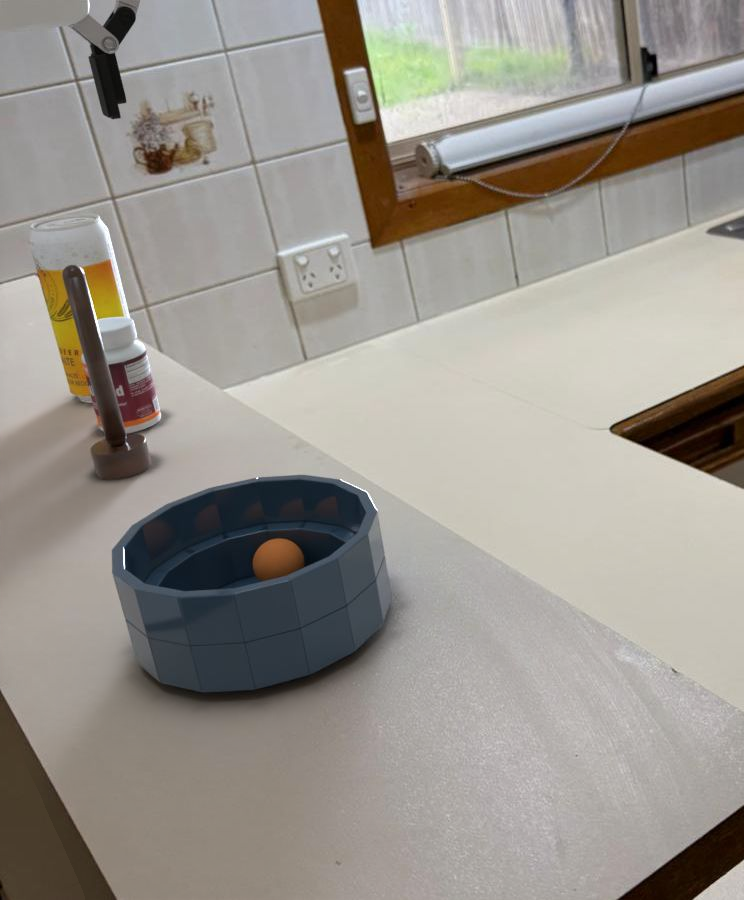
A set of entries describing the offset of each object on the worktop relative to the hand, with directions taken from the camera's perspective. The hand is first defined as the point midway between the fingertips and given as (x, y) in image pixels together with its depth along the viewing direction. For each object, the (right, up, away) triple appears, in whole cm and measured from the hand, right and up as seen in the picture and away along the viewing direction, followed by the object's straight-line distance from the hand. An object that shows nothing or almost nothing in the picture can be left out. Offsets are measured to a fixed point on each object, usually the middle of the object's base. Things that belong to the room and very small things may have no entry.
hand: (34, 128), depth 74 cm
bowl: (+19, -30, -12) cm, 38 cm away
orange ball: (+19, -27, -10) cm, 34 cm away
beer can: (-6, -16, +25) cm, 31 cm away
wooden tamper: (+2, -22, +9) cm, 24 cm away
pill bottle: (-1, -19, +18) cm, 26 cm away
